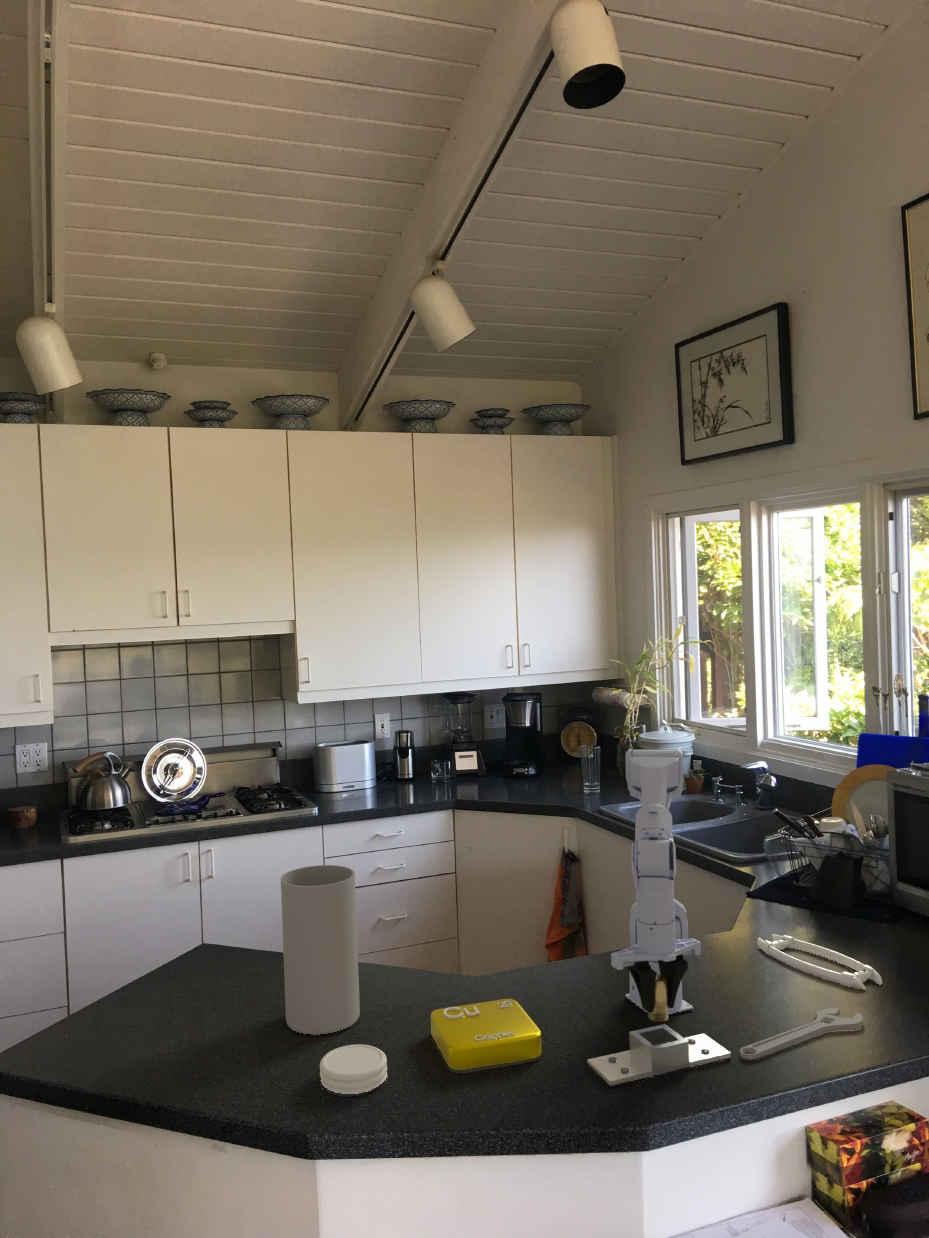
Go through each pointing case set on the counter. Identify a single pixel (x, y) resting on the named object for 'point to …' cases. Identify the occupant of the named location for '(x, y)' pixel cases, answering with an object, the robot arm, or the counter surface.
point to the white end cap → (353, 1069)
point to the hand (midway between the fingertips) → (658, 1007)
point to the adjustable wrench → (804, 1032)
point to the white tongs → (844, 978)
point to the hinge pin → (660, 1000)
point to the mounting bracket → (657, 1055)
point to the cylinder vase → (320, 949)
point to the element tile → (485, 1034)
